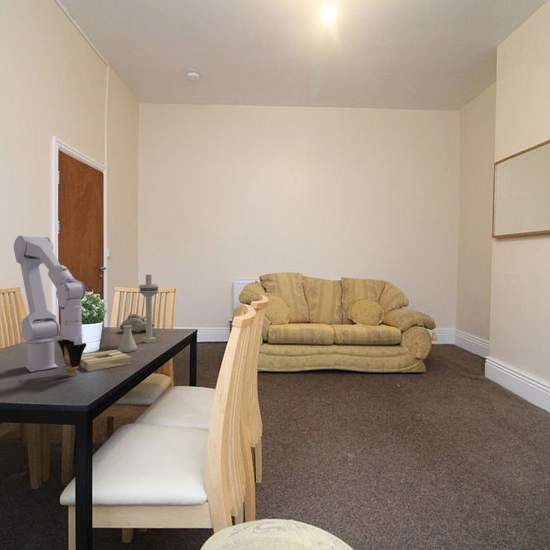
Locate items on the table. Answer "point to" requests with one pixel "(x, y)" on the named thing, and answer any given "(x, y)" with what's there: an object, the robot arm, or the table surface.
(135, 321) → the mineral
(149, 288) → the model tower
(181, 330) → the table surface
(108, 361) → the birch board
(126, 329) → the flask
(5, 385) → the table surface
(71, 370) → the oak peg
